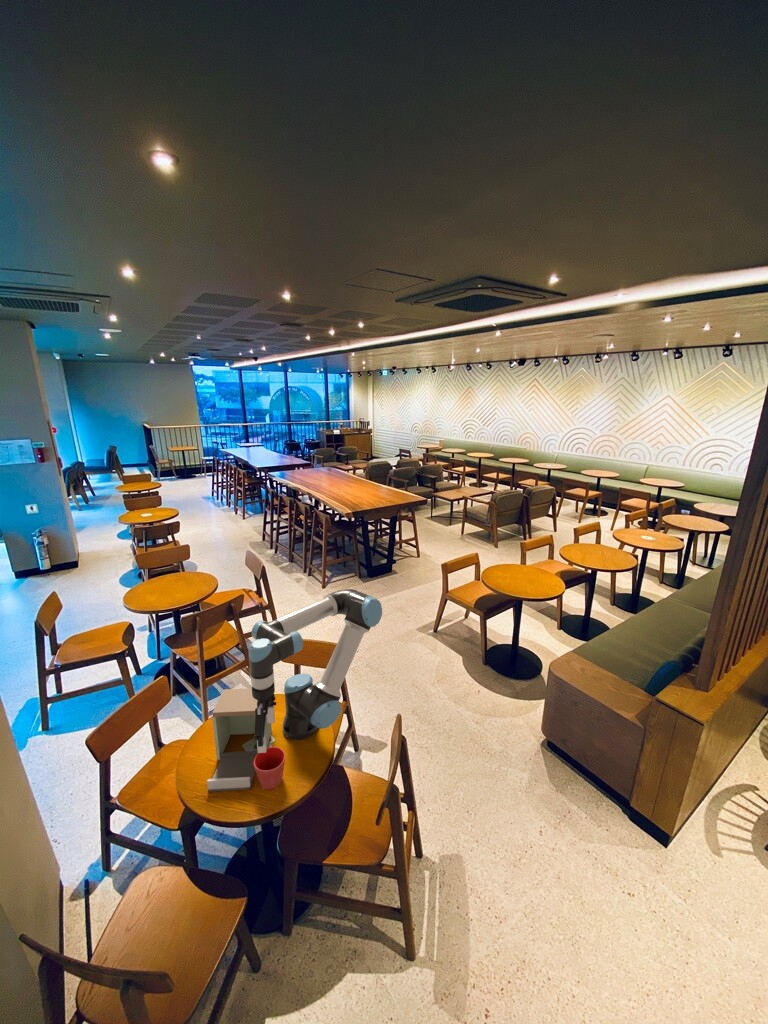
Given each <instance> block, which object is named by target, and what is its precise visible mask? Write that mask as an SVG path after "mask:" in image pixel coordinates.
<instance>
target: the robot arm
mask: <svg viewBox="0 0 768 1024" xmlns="http://www.w3.org/2000/svg"><path fill="white" fill-rule="evenodd" d="M382 606H383V605H382V603H381V602H380V600H379V599H378V598H376V597H374V596H372V595H369V594H367V593H364V592H362V591H359V590H356V589H353V588H348V589H347V588H344V589H340V590H337V591H333V592H331V593H328V594H325V596H323V599H319V600H318V601H316V602H313V603H310V604H308V605H306V606H304V607H302V608H300V609H297V610H295V611H292V612H290V613H287V614H286V615H285V614H284V615H283V616H281V617H278V618H276V619H273V620H271V621H269V622H268V621H265V620H258V621H257V622H255V624H254V625H253V626H252V628H251V637H252V638H253V639H254V640H253V641H252V642H251V643H250V644H249V645H248V660H249V670H250V671H249V672H250V675H249V679H250V681H251V688H252V696H253V698H254V699H256V700H258V701H257V708H256V709H255V734H254V735H253V741H255V742H256V748H257V751H258V753H266V739H265V734H264V731H265V720H266V715H267V723H271V724H275V723H276V712H275V706H277V701H276V696H275V690H276V688H275V687H276V685H275V675H274V665H276V664H277V663H280V662H281V661H283V660H285V659H288V658H289V657H293V656H294V655H296V654H297V653H299V652H300V651H302V650H303V648H304V639H303V637H302V634H301V633H300V632H298V631H300V630H302V629H304V628H307V627H308V626H310V625H313V624H315V623H316V622H319V621H321V620H323V619H325V618H327V617H329V616H331V617H335V616H337V615H344V616H345V617H344V620H343V621H344V623H345V624H344V628H343V630H342V632H341V634H340V637H339V639H338V641H337V643H336V646H335V647H334V650H333V652H332V655H331V656H330V659H329V662H328V663H327V665H326V668H325V670H324V672H323V675H322V677H321V679H320V680H319V681H317V682H315V683H313V682H314V680H313V677H312V676H311V674H308V673H298V674H294V675H292V676H290V677H289V678H288V679H287V680H286V681H285V683H284V685H283V686H284V687H283V688H284V690H283V692H284V702H285V715H284V718H283V721H282V732H283V735H284V736H285V737H287V738H288V739H290V740H292V741H293V740H294V741H300V740H305V739H307V738H310V737H311V736H313V735H315V733H316V732H317V730H318V728H319V729H322V730H323V729H327V728H329V727H331V726H332V725H334V723H336V721H337V720H338V719H339V717H340V715H341V712H342V705H341V702H340V699H341V697H342V694H341V687H342V685H343V682H344V681H345V678H346V676H347V674H348V671H349V669H350V667H351V665H352V663H353V660H354V657H355V655H356V653H357V650H358V649H359V646H360V644H361V641H362V639H363V637H364V635H365V634H366V633H368V632H370V629H371V628H375V627H376V626H377V625H378V624H379V623H380V621H381V619H382V616H383V607H382ZM265 710H266V711H265ZM264 711H265V712H264Z"/></svg>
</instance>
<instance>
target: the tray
mask: <svg viewBox="0 0 768 1024" xmlns="http://www.w3.org/2000/svg"><path fill="white" fill-rule="evenodd" d="M257 754H258V750H247V751H229V752H228V751H227V752H225V751H224V752H223V753H221V759H220V760H219V762H218V764H217V767H216V770H215V771H214V774H213V776H212V778H207V780H206V784H207V791H208V792H225V791H226V792H228V791H243V790H251V788H252V785H253V782H254V777H255V776H256V771H255V768H254V758H255V757H256V755H257Z"/></svg>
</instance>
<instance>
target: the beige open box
mask: <svg viewBox="0 0 768 1024" xmlns="http://www.w3.org/2000/svg"><path fill="white" fill-rule="evenodd" d="M257 701H258V700H256V699H254V698H253V696H252V687H250V688H231V689H230V688H228V689H227V688H225V689H223V691H222V693H221V695H220V697H219V699H218V701H217V703H216V705H215V707H214V709H213V711H212V718H211V719H212V726H213V737H214V744H215V745H214V746H215V753H216V754H215V755H216V761H220V759H221V753H224V752H225V749H226V746H227V744H228V743H229V739H230V737H231V736H232V735H234V736H235V735H237V736H238V735H253V734H255V709H256V708H257ZM265 711H266V710H265ZM265 711H264V712H265ZM272 733H273V729H272V723H267V715H266V720H265V731H264V734H265V739H266V748H268V745H269V742H270V738H271V735H272Z"/></svg>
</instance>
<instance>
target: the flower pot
mask: <svg viewBox="0 0 768 1024" xmlns="http://www.w3.org/2000/svg"><path fill="white" fill-rule="evenodd" d="M285 762H286V753H285V751H284V749H282V748H280V747H277V746H269V747H268V746H267V748H266V753H258V754H257V755H256V757H255V758H254V768H255V771H256V772H255V775H256V776H257V779H258V782H259V784H260V787H261V788H262V789H265V790H273V789H275V788H277V787H278V786H279V785H280V784H281V782H282V780H283V775H284V769H285Z"/></svg>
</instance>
